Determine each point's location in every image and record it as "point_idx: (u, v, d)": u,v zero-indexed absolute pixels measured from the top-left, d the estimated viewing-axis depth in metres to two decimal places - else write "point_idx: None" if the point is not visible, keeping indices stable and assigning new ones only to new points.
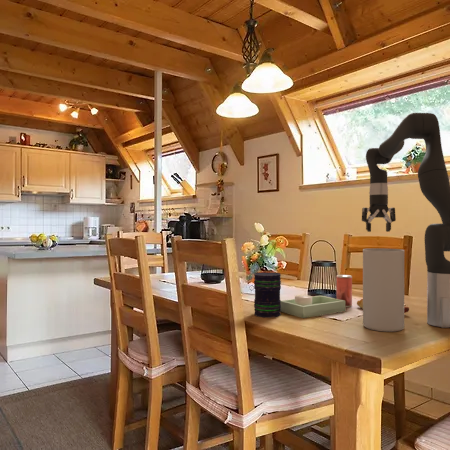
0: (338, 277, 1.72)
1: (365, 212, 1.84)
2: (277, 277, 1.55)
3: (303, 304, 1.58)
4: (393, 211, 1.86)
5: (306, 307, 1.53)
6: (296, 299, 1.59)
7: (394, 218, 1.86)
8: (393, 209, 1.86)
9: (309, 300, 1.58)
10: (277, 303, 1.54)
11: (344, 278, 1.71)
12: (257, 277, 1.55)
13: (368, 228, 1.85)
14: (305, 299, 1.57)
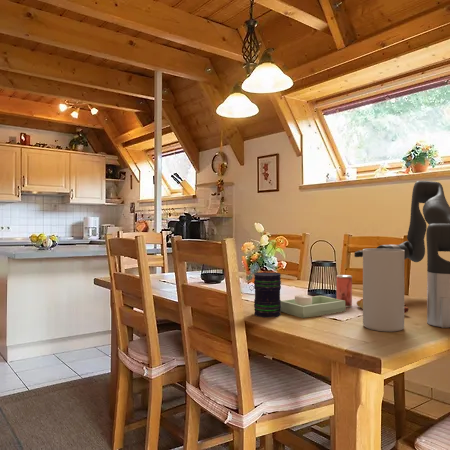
0: (338, 277, 1.72)
1: None
2: (277, 277, 1.55)
3: (303, 304, 1.58)
4: None
5: (306, 307, 1.53)
6: (296, 299, 1.59)
7: None
8: None
9: (309, 300, 1.58)
10: (277, 303, 1.54)
11: (344, 278, 1.71)
12: (257, 277, 1.55)
13: None
14: (305, 299, 1.57)
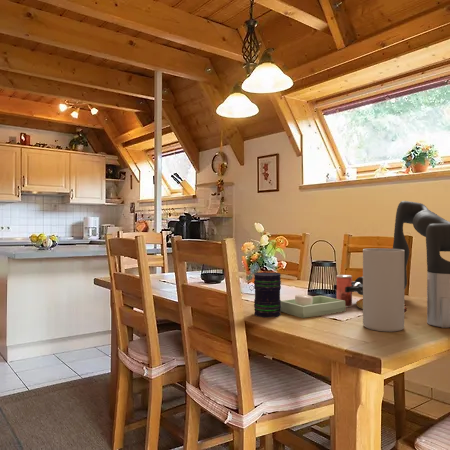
0: (338, 277, 1.72)
1: None
2: (277, 277, 1.55)
3: (304, 304, 1.57)
4: None
5: (306, 307, 1.53)
6: (297, 299, 1.59)
7: (360, 286, 1.70)
8: None
9: (310, 300, 1.58)
10: (277, 303, 1.54)
11: (344, 278, 1.71)
12: (257, 277, 1.55)
13: None
14: (307, 299, 1.57)
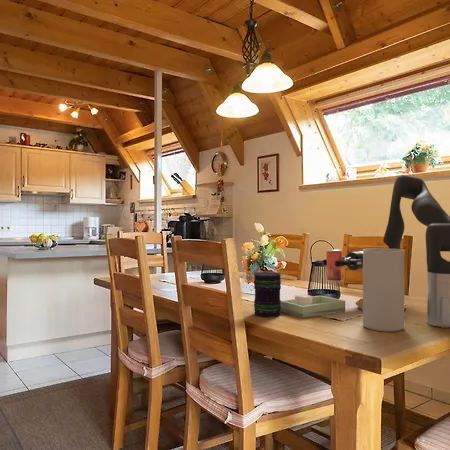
0: (328, 251, 1.68)
1: None
2: (277, 277, 1.55)
3: (305, 303, 1.58)
4: (356, 259, 1.68)
5: (306, 307, 1.53)
6: (297, 299, 1.59)
7: (351, 260, 1.66)
8: (358, 259, 1.68)
9: (310, 299, 1.58)
10: (277, 303, 1.54)
11: (334, 252, 1.67)
12: (257, 277, 1.55)
13: None
14: (307, 298, 1.58)
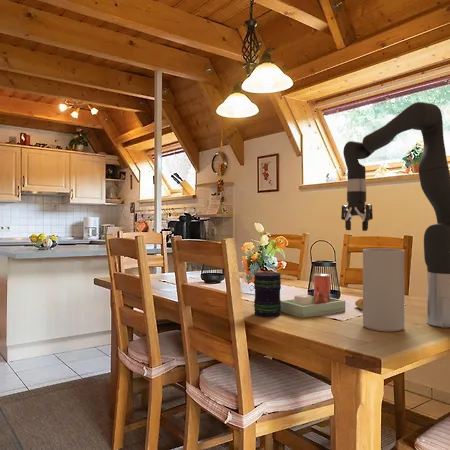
0: (316, 276, 1.64)
1: (342, 210, 1.81)
2: (277, 277, 1.55)
3: (309, 303, 1.58)
4: (366, 208, 1.70)
5: (306, 307, 1.53)
6: (302, 299, 1.58)
7: (367, 216, 1.70)
8: (366, 206, 1.70)
9: (311, 298, 1.60)
10: (277, 303, 1.54)
11: (322, 277, 1.62)
12: (257, 277, 1.55)
13: (345, 226, 1.80)
14: (310, 298, 1.59)
